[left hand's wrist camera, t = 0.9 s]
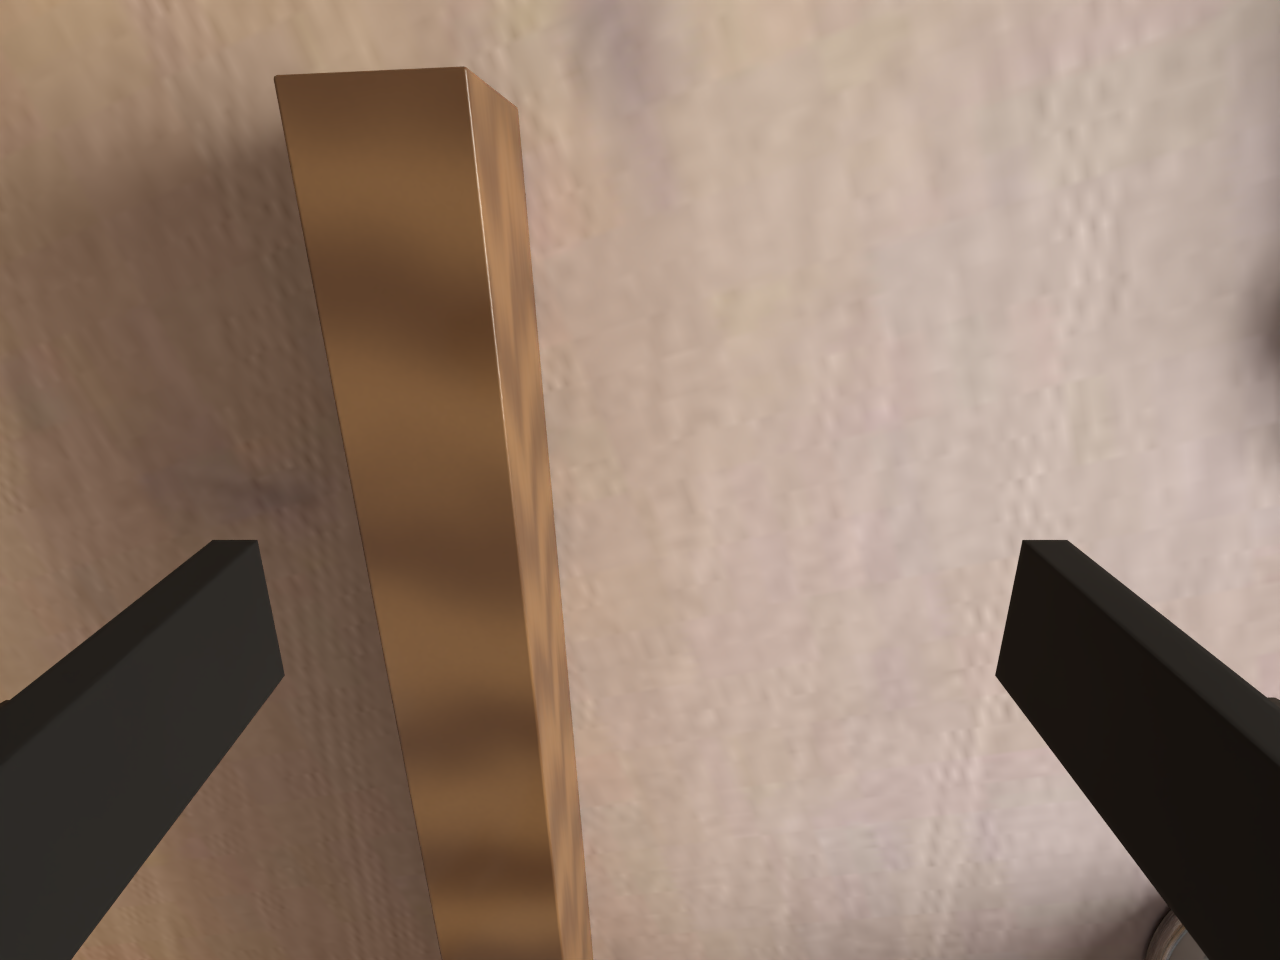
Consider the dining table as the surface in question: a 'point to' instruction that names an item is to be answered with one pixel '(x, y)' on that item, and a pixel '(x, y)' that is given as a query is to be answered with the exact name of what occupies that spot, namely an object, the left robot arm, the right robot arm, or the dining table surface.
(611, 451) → the dining table surface
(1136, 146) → the dining table surface
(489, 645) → the beam
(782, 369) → the dining table surface
